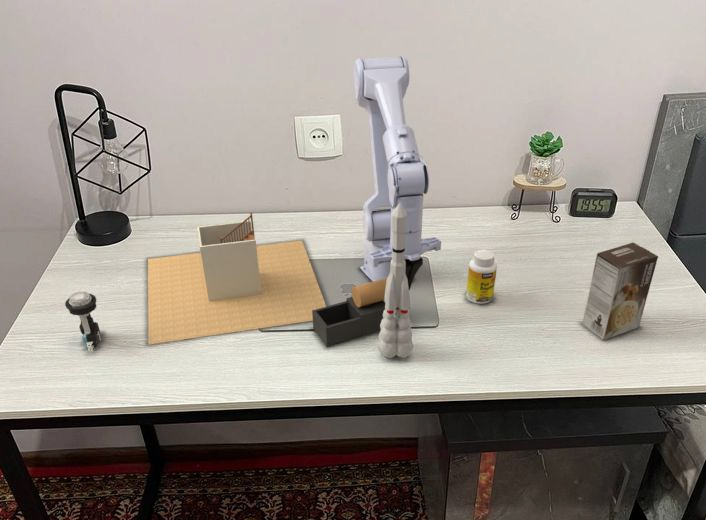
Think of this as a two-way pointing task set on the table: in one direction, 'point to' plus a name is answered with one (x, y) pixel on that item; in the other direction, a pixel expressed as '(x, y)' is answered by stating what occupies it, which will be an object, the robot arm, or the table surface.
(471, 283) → the supplement bottle
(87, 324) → the push button
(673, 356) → the table surface
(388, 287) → the rocket model
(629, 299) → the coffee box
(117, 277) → the table surface
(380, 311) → the caddy
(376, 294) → the paper roll
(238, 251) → the staircase
